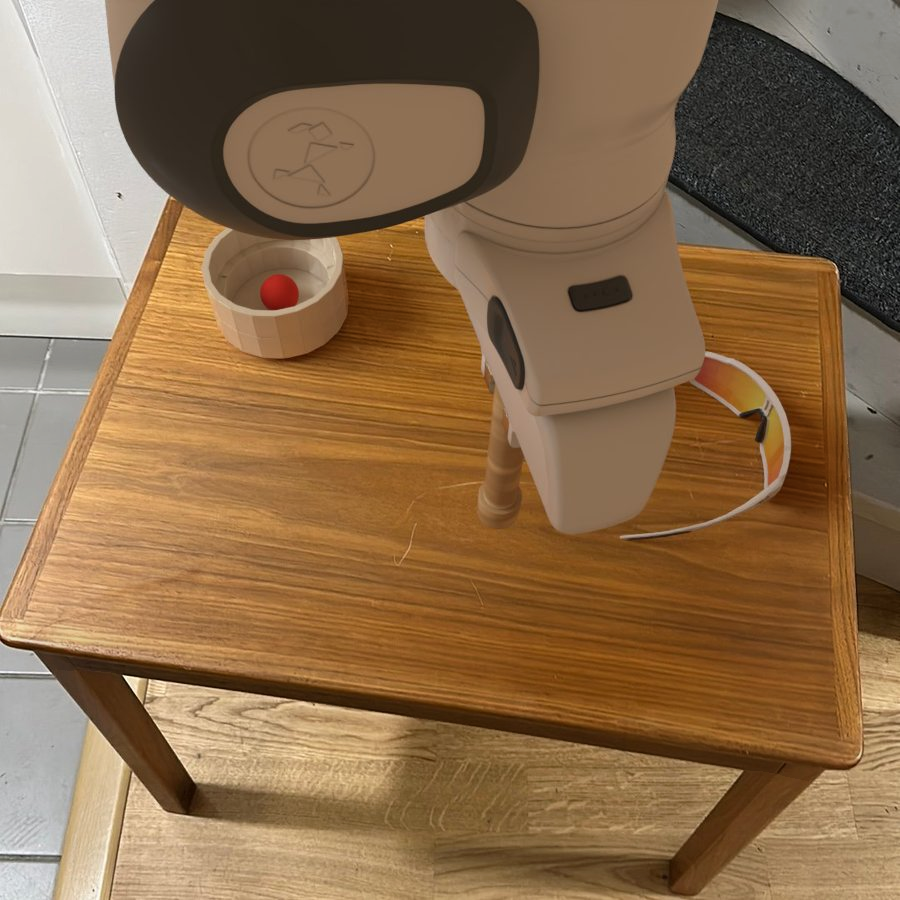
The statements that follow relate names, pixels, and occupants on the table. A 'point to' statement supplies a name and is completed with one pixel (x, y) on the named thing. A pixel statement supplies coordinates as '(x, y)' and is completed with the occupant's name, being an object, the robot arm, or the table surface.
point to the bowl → (239, 282)
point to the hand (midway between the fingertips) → (511, 407)
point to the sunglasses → (744, 399)
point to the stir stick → (500, 475)
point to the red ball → (279, 292)
